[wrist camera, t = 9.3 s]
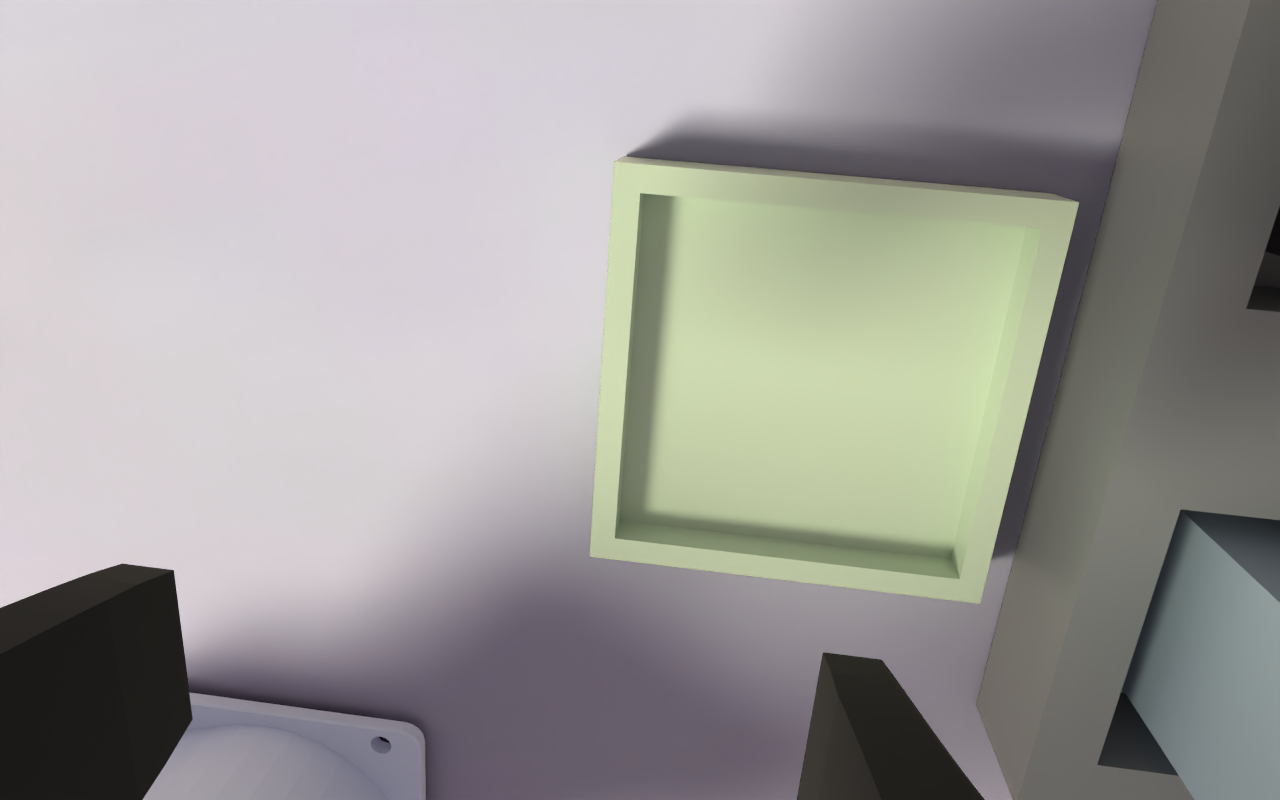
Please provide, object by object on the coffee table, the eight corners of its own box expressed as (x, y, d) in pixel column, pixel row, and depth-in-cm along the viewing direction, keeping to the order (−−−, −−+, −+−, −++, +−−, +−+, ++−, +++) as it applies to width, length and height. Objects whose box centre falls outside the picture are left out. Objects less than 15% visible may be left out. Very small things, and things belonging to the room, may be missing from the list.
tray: (599, 525, 19) (589, 556, 18) (623, 156, 17) (614, 161, 15) (962, 567, 19) (979, 603, 17) (1050, 193, 16) (1079, 202, 15)
